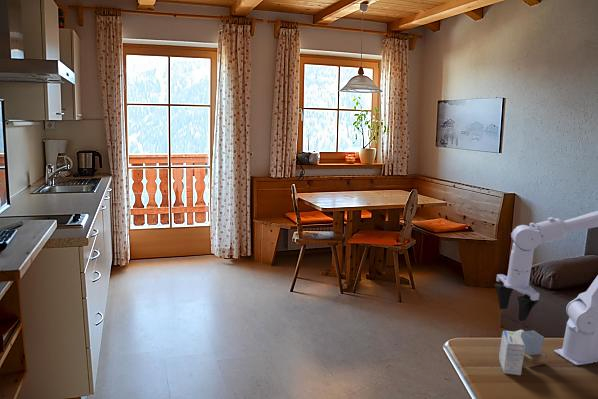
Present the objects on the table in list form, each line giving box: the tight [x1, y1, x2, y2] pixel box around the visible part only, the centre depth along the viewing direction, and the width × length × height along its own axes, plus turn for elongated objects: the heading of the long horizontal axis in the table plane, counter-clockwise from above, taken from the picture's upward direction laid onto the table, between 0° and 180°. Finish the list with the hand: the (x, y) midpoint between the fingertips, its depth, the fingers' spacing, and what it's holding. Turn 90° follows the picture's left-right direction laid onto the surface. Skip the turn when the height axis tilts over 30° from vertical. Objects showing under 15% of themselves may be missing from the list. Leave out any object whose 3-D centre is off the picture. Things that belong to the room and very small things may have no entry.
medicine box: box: [498, 330, 525, 376], centre depth 139 cm, size 8×4×9 cm, turn 168°
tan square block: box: [522, 352, 547, 368], centre depth 144 cm, size 6×6×3 cm
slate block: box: [521, 329, 545, 355], centre depth 144 cm, size 4×4×5 cm
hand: (512, 314), depth 149 cm, fingers open, 7 cm apart
